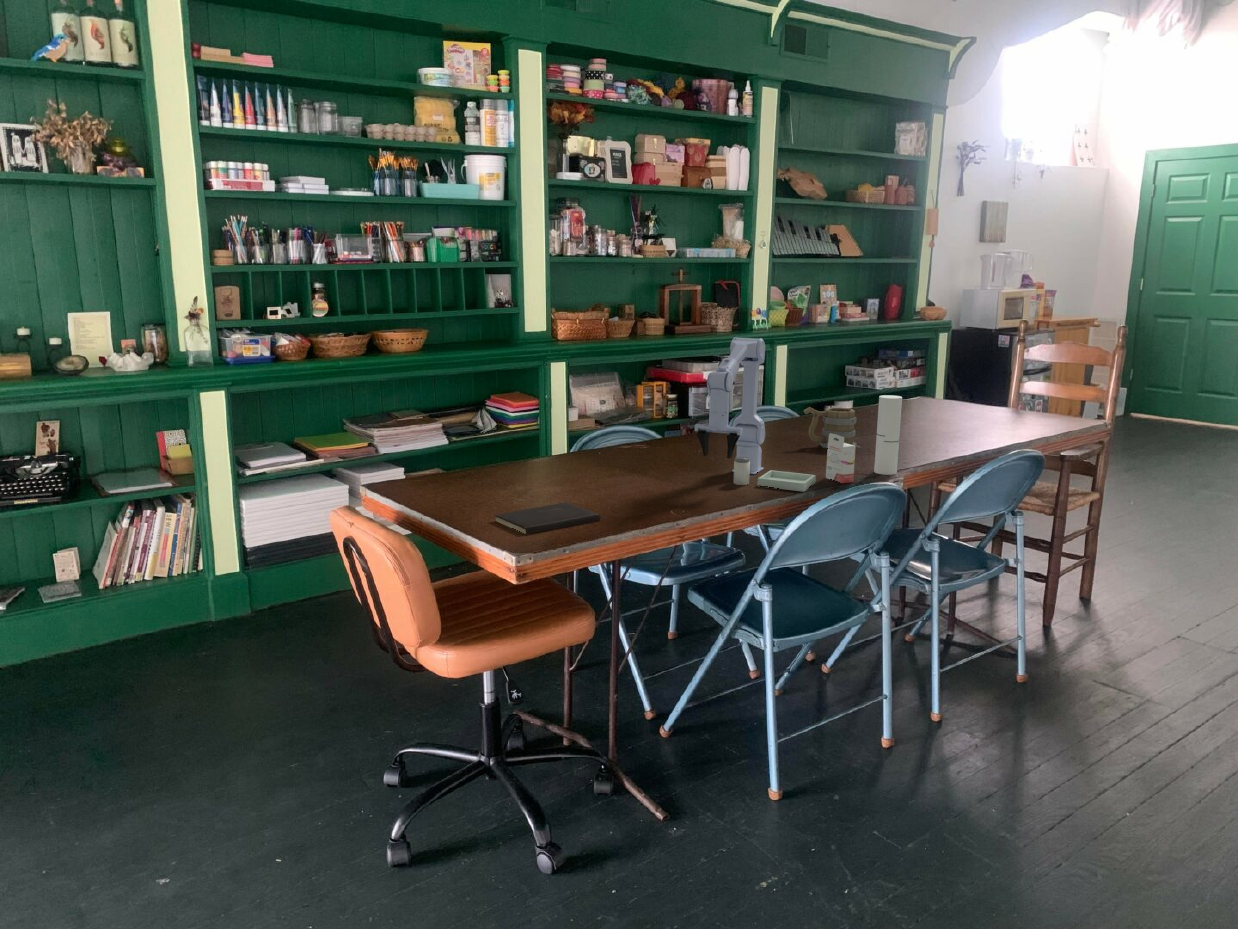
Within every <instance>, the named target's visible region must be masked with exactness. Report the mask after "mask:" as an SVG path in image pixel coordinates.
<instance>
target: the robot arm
mask: <svg viewBox="0 0 1238 929" xmlns="http://www.w3.org/2000/svg"><path fill="white" fill-rule="evenodd" d="M729 349H730V354H729V356H728V357H725V358H723V359H722V361H721V362H720V364H719V365H718V367H717V368H716V370H713V371H711V372H709V373H708V375H707V379H706V380H707V381H706V386H707V395H708V397H709V410H708V411H709V412H708V414H709V416H708V424H707V423H696V424H694V432H697V433H696V436H697V439H698V441H699V443H700V446H701V449H702V450H701V451H702V453H703V454H702V455H703V456H704V457H706V456H708V455H709V441H710V435H711V433H717V434H718V433H719V434H725V435H726V443H727V454H726V455H727V456H726V459H732V457H733V453H734V450H735V447H736V457H748V458H749V461H750V473H749V475H750V474H751V475H756V474H758V473H759V472H761V471H763V470H764V467H762V453H763V452H762V448H761V446H760V445H762V444H763V443H764V442H765V439H766V428H765V421H764V420H763V418H761V417H760V416H759V415H758V414H757V407H758V391H759V390H758V389H759V375H760V374H759V371H760V365H762V364H764V363H765V357H766V344H765V341H764V339H763V338H761V337H760V338H750V337H736V336H735V337H733V338H732V340H731V342H730V345H729ZM740 364H741V365H742V366H743V377H742V394H741V395H742V397H741V414H740V415H738V417H736V418H735V419H734V421H733V424H732V425H729V414H730V413H729V412H730V410H729V409H730V408H729V406H730V392H731V391H732V388H733V384H734V381H735V377H736V375H737V374H738V372H739V370H740ZM731 472H733V473H734V468H733V469H732V470H731ZM757 472H758V473H757Z"/></svg>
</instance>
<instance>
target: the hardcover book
mask: <svg viewBox="0 0 1238 929" xmlns="http://www.w3.org/2000/svg"><path fill="white" fill-rule="evenodd" d="M493 516H494V517H495V522H496V523H499V524H501V525H504V526H506V527H508V528H510V529H512V528H514V529H516V530H515V531H517V530H518V531H517V532H519V531H520V532H519V533H521V532H522V533H521V534H523V533H524V534H523V535H525V534H530V535H533V533H535V534H538V533H537V532H540V533H544V532H543V531H545V532H550V531H553V529H556V530H560V529H559V528H561V529H565V528H570V527H571V528H572V527H576V526H581V525H585V524H584V523H586V524H589V523H588V522H591V523H594V522H593V521H597V522H601V515H600V513H598V512H595V511H592V510H589V509H587V508H584V507H581V506H578V505H577V504H576V505H575V504H572V503H571V502H570V503H569V502H567V501H566V502H561V503H556V504H555V503H553V504H549V505H544V506H543V505H542V506H537V507H531V508H526V509H525V508H524V509H520V510H514V511H508V512H503V513H497V514H494V515H493ZM580 524H581V525H580ZM575 525H576V526H575ZM514 529H513V530H514ZM549 530H550V531H549Z"/></svg>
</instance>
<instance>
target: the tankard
mask: <svg viewBox="0 0 1238 929" xmlns="http://www.w3.org/2000/svg"><path fill="white" fill-rule="evenodd" d="M803 413H804V414H805V415H808V414H811V415H812V417H811V418H812V419H811V423H810V425H809V427H808V437H809V438H810V440H811V442H815V443H819V446H820V447H821V448H822V449H826V448H828V440H829V434H830V433H832V434H835V435H839V436H842V437H844V443H847V444H850V445H854V446H855V449H857V448H858V447H857V446H858V444H857V442H855V441H854V438H855V437H856V432H857V431H856V429H855V425H856V424H857V417H856V410H854V409H852V408H846V407H829V408H825V409H824V411H819V410H816V409H814V408H813V407H811V406H809V407H807V408H805V409H803ZM819 417H822V422H823V423H824V424H823V426H824V427H823V428H821V435H823V436H817V435H816V433H815V432H816V428H817V426H818V423H819ZM834 440H836V441H839V439H837V438H834Z"/></svg>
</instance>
